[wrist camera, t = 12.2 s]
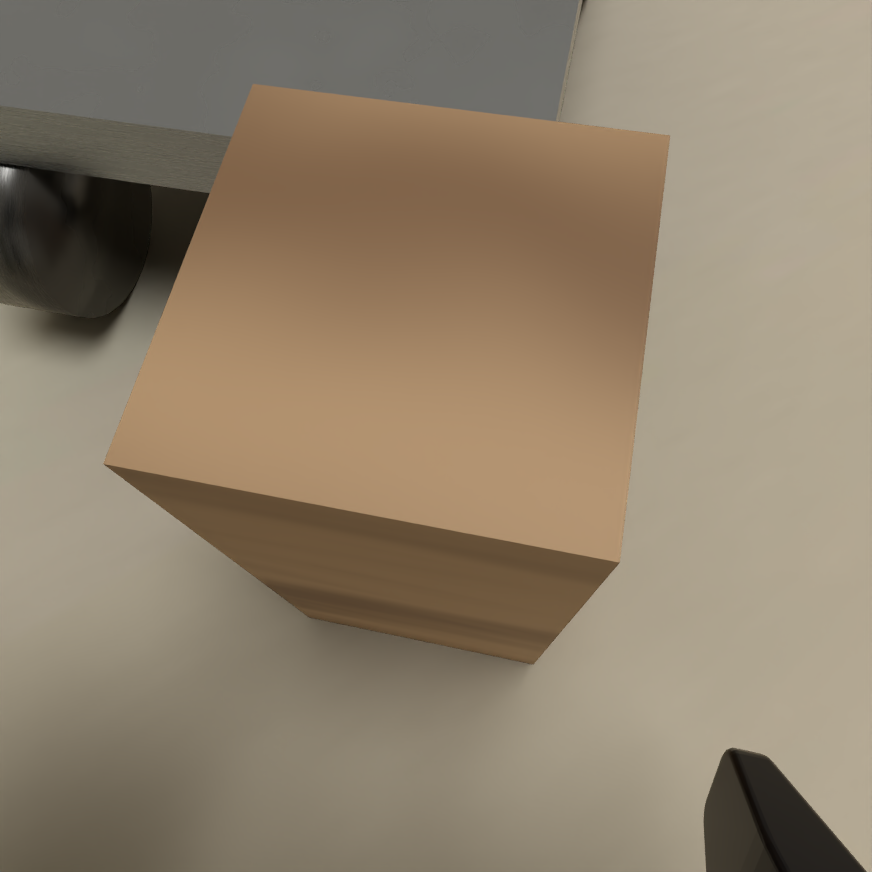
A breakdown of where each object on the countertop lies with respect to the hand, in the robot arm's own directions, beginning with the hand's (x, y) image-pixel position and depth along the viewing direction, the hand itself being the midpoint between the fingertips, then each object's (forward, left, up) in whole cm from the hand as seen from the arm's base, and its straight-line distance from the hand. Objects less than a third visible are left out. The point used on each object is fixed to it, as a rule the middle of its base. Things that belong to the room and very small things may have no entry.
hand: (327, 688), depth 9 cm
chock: (+3, +4, -11) cm, 12 cm away
